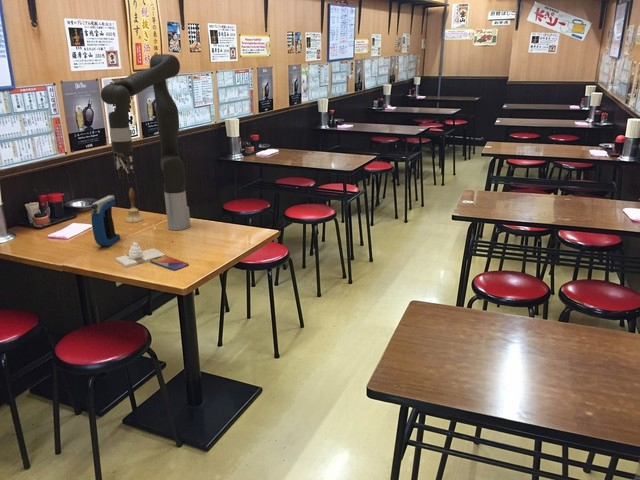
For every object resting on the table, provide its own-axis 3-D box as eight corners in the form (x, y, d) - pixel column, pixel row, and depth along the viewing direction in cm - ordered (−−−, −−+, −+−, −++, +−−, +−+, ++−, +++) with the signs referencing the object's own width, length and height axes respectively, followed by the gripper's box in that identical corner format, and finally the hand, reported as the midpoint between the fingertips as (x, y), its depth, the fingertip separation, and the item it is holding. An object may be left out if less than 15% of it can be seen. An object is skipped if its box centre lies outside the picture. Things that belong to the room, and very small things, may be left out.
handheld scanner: (124, 237, 226) (117, 193, 219) (106, 250, 210) (98, 203, 204) (114, 237, 226) (106, 193, 220) (95, 250, 211) (87, 203, 204)
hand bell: (140, 216, 255) (137, 185, 250) (145, 221, 249) (141, 188, 243) (123, 219, 251) (119, 187, 246) (127, 224, 244) (123, 191, 239)
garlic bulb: (144, 241, 200) (135, 245, 195) (146, 255, 202) (137, 260, 197) (133, 239, 201) (123, 244, 197) (135, 254, 203) (125, 258, 199)
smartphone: (174, 272, 190) (174, 270, 189) (149, 263, 198) (148, 260, 198) (190, 266, 195) (190, 264, 195) (165, 257, 204) (164, 254, 203)
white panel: (154, 250, 210) (153, 248, 210) (165, 257, 203) (165, 254, 203) (115, 260, 200) (114, 257, 199) (126, 267, 193) (125, 265, 192)
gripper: (138, 140, 196) (143, 182, 202) (123, 136, 206) (128, 176, 212) (119, 142, 192) (124, 185, 197) (104, 138, 202) (110, 179, 207)
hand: (126, 180), depth 204 cm, fingers open, 8 cm apart
